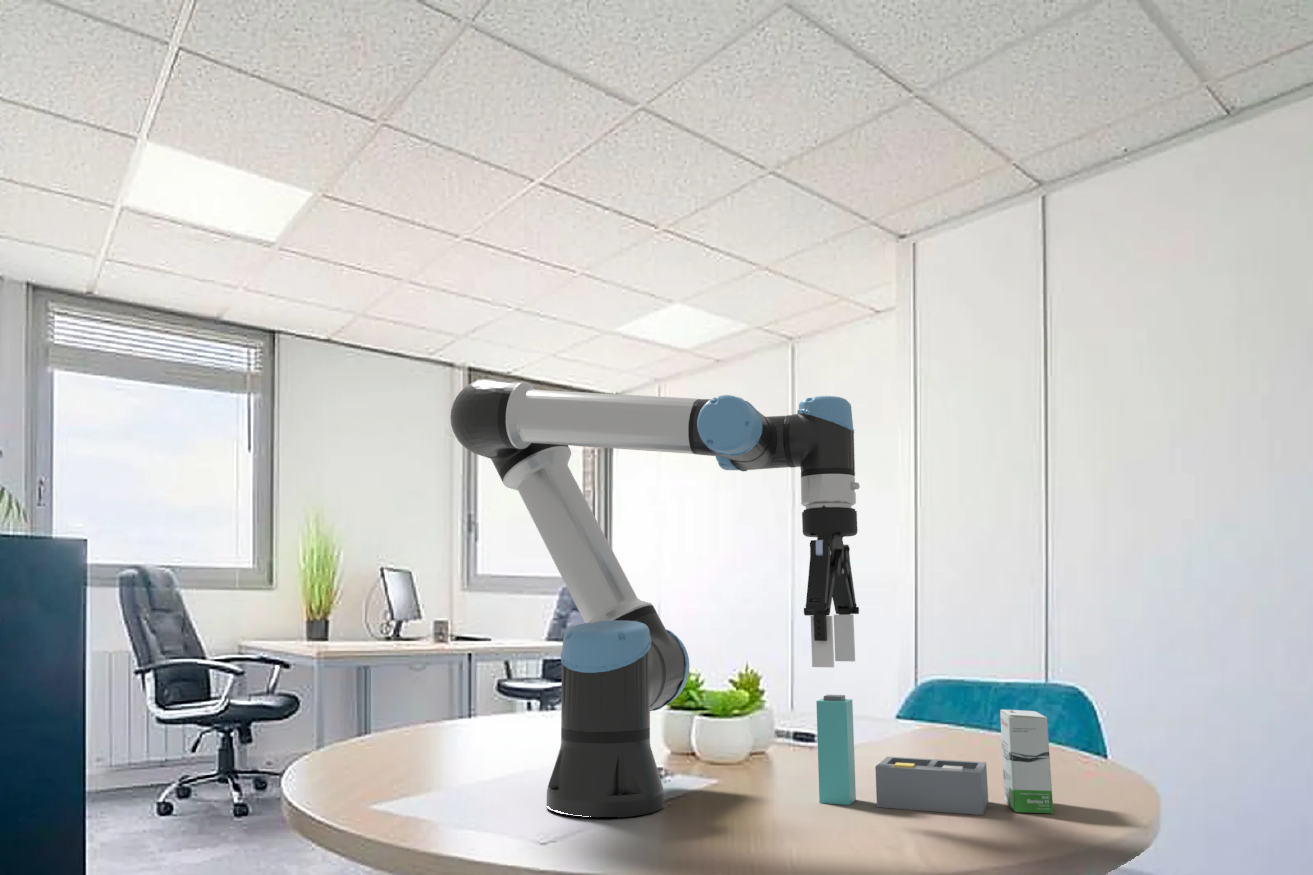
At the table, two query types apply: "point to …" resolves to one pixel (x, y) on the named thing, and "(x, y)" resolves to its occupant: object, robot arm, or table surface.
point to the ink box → (1026, 761)
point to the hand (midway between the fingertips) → (834, 664)
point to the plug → (836, 750)
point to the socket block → (932, 785)
